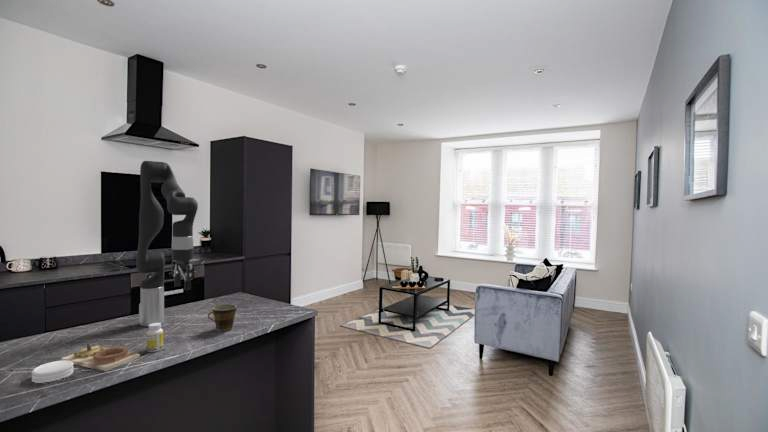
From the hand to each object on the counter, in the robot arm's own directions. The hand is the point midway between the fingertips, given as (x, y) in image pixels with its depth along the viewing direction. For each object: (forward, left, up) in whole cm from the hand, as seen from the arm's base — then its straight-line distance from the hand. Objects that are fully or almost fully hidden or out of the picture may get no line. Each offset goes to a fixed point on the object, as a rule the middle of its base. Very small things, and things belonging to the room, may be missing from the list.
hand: (182, 288), depth 144 cm
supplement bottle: (-5, -8, -23) cm, 25 cm away
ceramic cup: (+3, +18, -23) cm, 29 cm away
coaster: (-16, -35, -23) cm, 45 cm away
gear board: (-15, -21, -23) cm, 34 cm away
